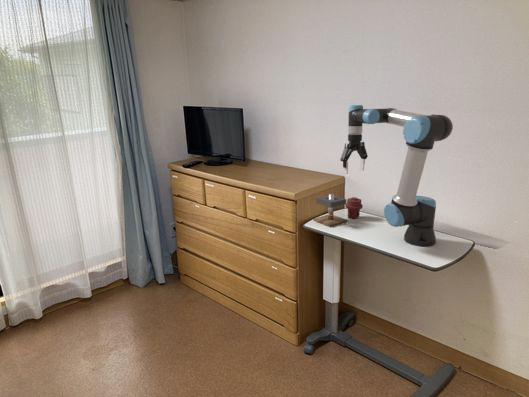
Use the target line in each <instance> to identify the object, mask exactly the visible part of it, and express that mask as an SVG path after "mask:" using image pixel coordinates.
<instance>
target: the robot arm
mask: <svg viewBox="0 0 529 397" xmlns="http://www.w3.org/2000/svg"><path fill="white" fill-rule="evenodd" d="M347 122H348V125H347V126H348V127H347V128H348V131H347V132H348V134H347V141H348V143H344V146H343V147H344V148H343V151H342V153H341V156H340V160H339V161H341V162H342V167H343V170H342V171H343V172H342V173H343V174H346V175H348V173H349V162H348V161H349V159H350V157H351V155H352V153H354V152H357V154H358V156H359V157H360V158H359V169H358V170H359V171H363V172H364V171H365V163H366V159H367V158H369V156H368V152H367V149H366V146H365V143H366V142H365V141H362V140H363V124H366V125H374V124H390V125H395V126H399V127H403V130H402V134H403V139H404V140H405V145H406V147H407V151H406V156H405V159H404V160H405V161H404V163H403V169H402V172H401V175H400V180H399V183H398V188H397V192H396V194H395V195H393V196H392V198H391V201H390V203H388V204H386V205H385V206H384V209H383V210H384V211H383V213H384V214H383V215H384V218H385V220H386V222H387V223H388V224H389V225H390V226H392V227H395V228H398V227H400V228H402V227H405V226H407V228H406V231H405V232H404V235H403V236H404V237H403V241H405V243H407V244H410V245H412V246H418V247H432V246H434V245H436V242H437V237H436V233H435V230H434V225H435V216H436V210H437V209H436V208H437V202H436V200H435V199H434V198H432V197H428V196H424V195H417V194H418V190H419V186H420V182H421V179H422V176H423V172H424V167H425V163H426V161H427V157H428V153H429V151H432V150H433V148H434V145H435V143H436V142H441V141H444V140H446V139H448V137H450V135H451V134H452V132H453V128H454V127H453V126H454V125H453V121H452V119H451V118H450V117H448V116H446V115H443V114H430V115H426V114H422V113H421V114H420V113H416V112H415V113H414V112H410V111H403V110H400V109H397V108H394V107H393V108H392V107H387V108H386V107H385V108H364V106H363V105H362V104H351V105H349V106H348V121H347Z"/></svg>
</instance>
